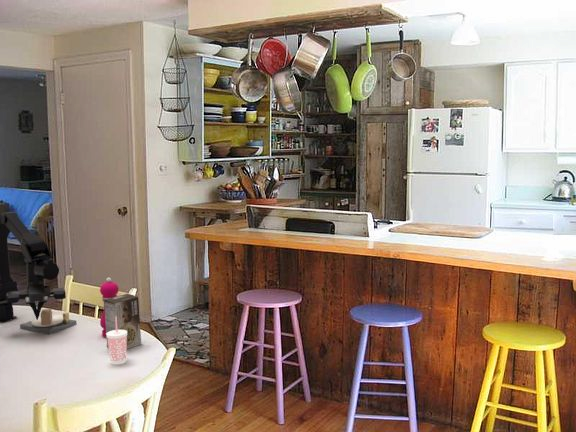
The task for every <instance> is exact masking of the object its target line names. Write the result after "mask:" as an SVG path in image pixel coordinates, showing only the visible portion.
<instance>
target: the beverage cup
mask: <svg viewBox="0 0 576 432" xmlns="http://www.w3.org/2000/svg"><path fill="white" fill-rule="evenodd" d="M115 324H116V330H112V331H109V332H107V333H106V335H107V336H106V337H105V338H106V339H107V338H108V346H109V348H108V353H109V361H110V364H111V365H122V364H124V363H126V362H127V350H128V349H127V331H126V330H117V316H115Z"/></svg>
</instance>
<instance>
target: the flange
mask: <svg viewBox="0 0 576 432" xmlns="http://www.w3.org/2000/svg"><path fill="white" fill-rule="evenodd" d="M30 321H31V322H32V325H33V326H36V327H48V326H54V325H58V324H61V323H63V314H58V313H56V314H55V313H54V314H53V312H52V308H45V309H43V308H42V309H41V311H40V315H39V318H38V320H37V319H36V317H33V318H32V319H31V320H30Z"/></svg>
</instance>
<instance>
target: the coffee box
mask: <svg viewBox="0 0 576 432" xmlns="http://www.w3.org/2000/svg"><path fill="white" fill-rule="evenodd" d="M104 307H105V322H106V333H107V332H109V331H112V330H116V324H115V316H117V330H126V331H127V350H128V349H130V348H133V347H136V346H139V344H140V345H142V336H141V335H142V334H141V319H140V304H139V296H136V295H133V294H130V293H125V294H120V295H117V296H116V297H113V298H109V299H105V300H104V302H103V308H104ZM106 336H107V335H106ZM106 348H107V349H109V346H108V338H107V337H106Z"/></svg>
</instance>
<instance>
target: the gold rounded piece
mask: <svg viewBox="0 0 576 432" xmlns="http://www.w3.org/2000/svg"><path fill="white" fill-rule="evenodd" d="M62 315H63V323H64V324H68V323H69V319H70V313H69V312H63V313H62Z"/></svg>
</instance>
